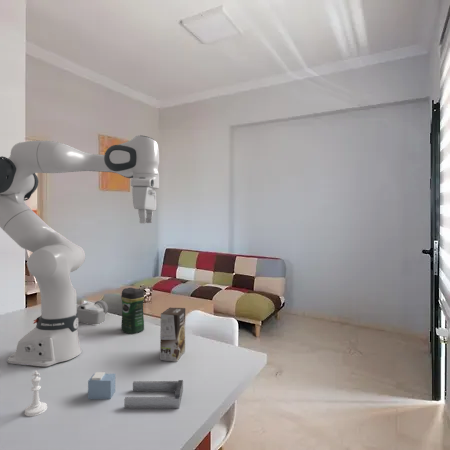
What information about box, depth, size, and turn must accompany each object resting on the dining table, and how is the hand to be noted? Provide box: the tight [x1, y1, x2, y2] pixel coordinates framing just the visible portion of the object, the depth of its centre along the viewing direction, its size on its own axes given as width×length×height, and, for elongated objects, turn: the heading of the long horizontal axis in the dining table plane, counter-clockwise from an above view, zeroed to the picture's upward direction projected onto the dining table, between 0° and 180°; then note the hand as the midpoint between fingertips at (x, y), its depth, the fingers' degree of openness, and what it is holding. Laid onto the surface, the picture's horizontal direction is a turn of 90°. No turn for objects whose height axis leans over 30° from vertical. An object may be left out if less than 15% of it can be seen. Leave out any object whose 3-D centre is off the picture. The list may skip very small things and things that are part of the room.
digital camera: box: [77, 299, 109, 325], centre depth 150 cm, size 17×14×10 cm
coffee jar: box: [120, 287, 145, 335], centre depth 137 cm, size 10×8×19 cm
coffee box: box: [159, 307, 186, 363], centre depth 113 cm, size 9×6×16 cm
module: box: [87, 371, 116, 400], centre depth 87 cm, size 6×4×6 cm, turn 91°
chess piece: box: [24, 370, 48, 417], centre depth 80 cm, size 5×5×10 cm
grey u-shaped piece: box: [123, 379, 184, 410], centre depth 86 cm, size 14×9×3 cm, turn 91°
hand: (145, 223), depth 111 cm, fingers open, 8 cm apart
